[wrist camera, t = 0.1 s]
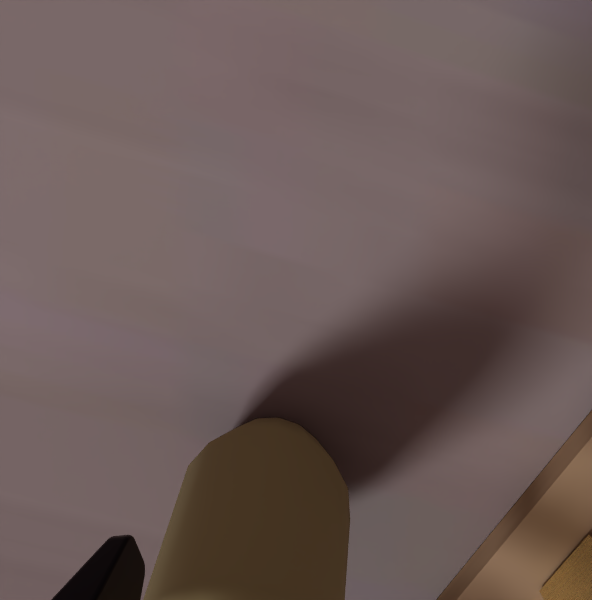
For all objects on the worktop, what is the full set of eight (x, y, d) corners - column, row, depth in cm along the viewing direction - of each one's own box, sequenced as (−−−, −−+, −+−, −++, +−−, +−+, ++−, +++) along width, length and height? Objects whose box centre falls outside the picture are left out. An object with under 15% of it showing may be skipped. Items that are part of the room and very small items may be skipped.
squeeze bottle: (363, 515, 26) (447, 1163, 8) (223, 545, 27) (31, 1190, 9) (325, 379, 25) (330, 805, 7) (179, 415, 25) (-144, 874, 8)
